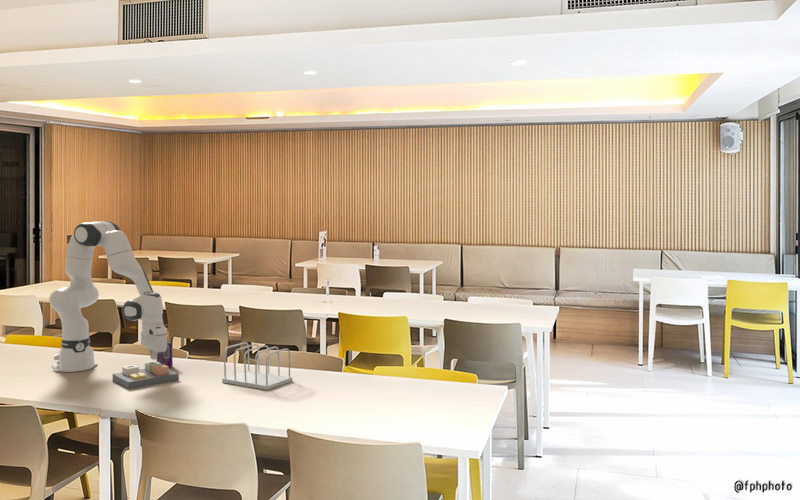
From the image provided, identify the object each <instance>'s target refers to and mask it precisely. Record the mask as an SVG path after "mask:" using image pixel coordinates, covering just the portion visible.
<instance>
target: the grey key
mask: <svg viewBox="0 0 800 500" xmlns="http://www.w3.org/2000/svg"><path fill="white" fill-rule="evenodd" d="M139 369H140V367H139V366H138V365H136V364H131V365H130V364H129V365H125V366H122V370H121V371H122V374H124V375H126V376H130V374H136V373H139Z"/></svg>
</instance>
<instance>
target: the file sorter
mask: <svg viewBox="0 0 800 500" xmlns="http://www.w3.org/2000/svg"><path fill="white" fill-rule="evenodd" d="M245 344H246V346H243V347H239V348H237V349H235V351H234V353H233V368H234V369H233V373H234V374H233V375H230V376H227V368H226V367H227V362H226V354H227V353H226V352H227V350H228V349H230V348H234V347H237V346H241V345H245ZM253 346H256V347H254V348H250V347H253ZM264 347H265V348H266V349H263V350H260V349H261V348H264ZM243 349H247V350H246V351H245V353H244V354H243V355H244V357H243V363H244V364H243V366H244V367H243V368H244V371H243V372H240V373H237V367H236V366H237V365H236V364H237V363H236V361H237V360H236V359H237V357H236V354H237V352H238V351H240V350H243ZM272 349H276V351H275V350H274V351H271V352H270V350H272ZM255 350H257V352H256V354H255V358H254V359H255V360H254V364H255V366H254V367H255V369H254V370H255V371H254V370H250V352H251V351H255ZM283 351H287V352H288V354H287V355H288V376H285V375H280V371H281V370H280V352H283ZM264 352H266V353H267V354H266V357H265V372H260V354H261V353H264ZM276 353H277V372H278V374H273V373H270V356H271V355H273V354H276ZM246 356H247V357H246ZM246 359H247V362H246ZM223 364H224V366H223V369H224V370H223V371H224V372H223V373H224V375H223V376H224V378H222V381H221V383H224V384H230V385H237V386H242V387H248V388H254V389H259V390H264V391H265V390H266V391H268V390H272V389H275V388H277V387H279V386H282V385H286V384H288V383H291V382H293V377H292V376H291V352H290V349H289V348H282V349H279V347H278V346H272V347H269V346H268V345H266V344H264V345H258V344H257V343H254V344H253V343H252V344H249V343H248V342H247V341H244V342H241V343H237V344H233V345H229V346H226V347H225V349H224V352H223Z"/></svg>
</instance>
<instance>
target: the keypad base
mask: <svg viewBox="0 0 800 500" xmlns="http://www.w3.org/2000/svg"><path fill="white" fill-rule="evenodd" d="M139 373H143V374H145V375H146V378H143V379H137V380H133V379H131V378H130V376H126V375H124V374H122V372H114V373H112V381H113V382H115V383H117V384H118V385H120V386H122V387H124V388H126V389H127V390H131V389H137V388H143V387H149V386H155V385H160V384H165V383H171V382H176V381H179V379H180V373H178V372H176V371H174V370H172V369H170V368H169V374H166V375H160V376H156V375H154V374H152V372H148V371H146V370H145V368H139Z"/></svg>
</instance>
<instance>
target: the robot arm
mask: <svg viewBox="0 0 800 500" xmlns="http://www.w3.org/2000/svg"><path fill="white" fill-rule="evenodd" d="M70 236H71V237H70V239H69V242H68V246H67V249H66V250H67V251H66V254H65V255H66V258H65V265H64V273H65V274H66V275H67V276H68V277H69V280H70V281H69V282H70V284H69V286H63V287H60V288H57V289H55V290H53V292H51V294H50V296H49V297H48V298H49V299H48V300H49V305H50V307H51V308H52V309H53V310H55V312H56V313H57V315H58V317H59V319H60V323H61V329H62V330H61V331H62V333H61V334H62V338H61V342H60V344H61V345H60V349H59V350H58V352H57V353H56V354H55V355H54V356H53V357H54V358H53V360H54V361H56V362H52V364H51V366H52V369H53V371H54V372H55V373H56V372H64V373H65V372H66V373H70V372H71V373H72V372H73V373H74V372H81V371H87V370H91V369H93V368H95V367H97V366H98V362H95V354H94V348H92V347H91V346H90V345H91V338H90V336H89V335H90V333H89V332H90V331H89V328H90V327H89V321H88V319H86V318H85V317H84V316H83V313H82V308H86V307H87V308H88V307H90V306H91V305H93V304H95V303H97V301H98V299H99V296H100V295H99V294H100V293H99V290H98V288H97V287H96V286H95V285H94V283H93V278H92V269H93V268H92V267H93V259H94V250H95V248H96V247H102V248H103V250H104V252H105V256H106V259H107V264H108V265H109V268H110V269H111V270H112V271H113V272H114V273H116V274H118V275H122V276H125V277H127V278H129V279H130V280H132V281H133V284H135V287H136V289H137V292H138V294H139V296H138V297H135V298H131V299H129V300H127V301H125V302H124V303H123V306H122V313H123V316H124V317H125V319H126V320H128V321H131V322H133V321H139V320H140V321H142V322H141V332H140V346H142V347H144V348H146V349H148V351H149V357H150V359H151V360H156V361H157V354H158V352H165V351H166V349H167V341H168V337H167V335H168V329H167V327H166V326H165V324H164V319H163V313H164V312H163V311H164V310H163V309H164V306H163V299H162V296H161V294H160V293H159V292H157V291H156V292H154V290H153V288H152V285H151V283H150V281H149V279H148V276H147V274H146V272H145V269H144V268H143V266H142V265H141V264H139V262H138V261H137V259H136V257H135V255H134V253H133V248H132V246H131V243H130V241H129V240H128V237H127V235H126V234H125V232H123V231H122V230H121V229H120V227H119V226H118V224H117V223H115V222H112V221H100V220H98V221H91V222H82V223H79V224H78V225H76V227H75V229H74V230H73V234H72V235H70Z"/></svg>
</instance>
